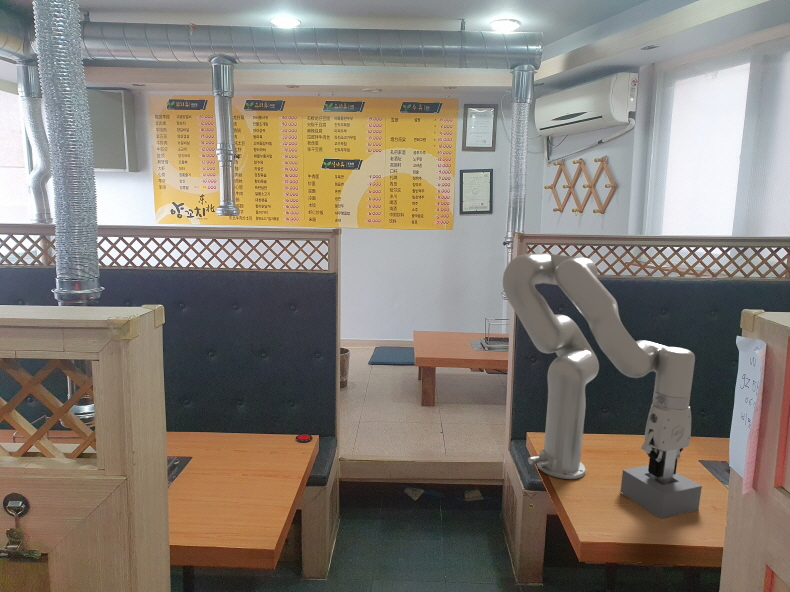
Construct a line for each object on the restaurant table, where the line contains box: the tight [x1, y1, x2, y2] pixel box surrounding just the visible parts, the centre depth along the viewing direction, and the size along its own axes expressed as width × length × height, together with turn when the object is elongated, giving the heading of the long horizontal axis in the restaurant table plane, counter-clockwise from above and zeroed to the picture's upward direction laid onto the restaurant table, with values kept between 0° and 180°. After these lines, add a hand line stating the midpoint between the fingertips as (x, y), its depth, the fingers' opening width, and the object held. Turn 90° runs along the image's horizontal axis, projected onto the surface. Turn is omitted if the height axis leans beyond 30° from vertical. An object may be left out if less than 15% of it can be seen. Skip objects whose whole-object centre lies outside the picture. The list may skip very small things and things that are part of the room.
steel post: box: [650, 449, 677, 485], centre depth 124 cm, size 4×4×13 cm
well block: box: [619, 464, 703, 520], centre depth 125 cm, size 12×12×6 cm
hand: (661, 472), depth 125 cm, fingers open, 4 cm apart
